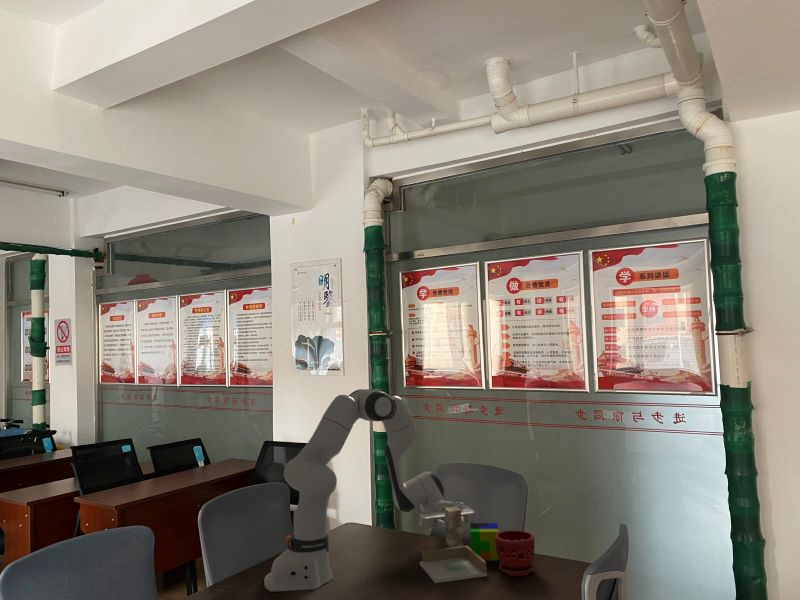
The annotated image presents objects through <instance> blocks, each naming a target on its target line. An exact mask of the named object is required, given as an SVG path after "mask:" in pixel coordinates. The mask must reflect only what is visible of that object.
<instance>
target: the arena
mask: <svg viewBox="0 0 800 600" xmlns="http://www.w3.org/2000/svg"><path fill="white" fill-rule="evenodd" d="M421 553H422V555H421V558H422V561H419V566H420V567H421V568H422V569H423V571H424V572H425V573H426V574H427V575H428V576H429V578H430V579H431V580H432V582H433V583H434V584H440V583H446V582H454V581H461V580H467V579H469V580H470V579H476V578H483V577H487V576H488V575H487V574H488V573H487V572H488V570H487V562H486V560H483V559H482V558H481V557H480V556H479V555H478V554H476V553H475V552H474V551H473V550H472V549H471V546H470V547H469V545H463V546H458V547H451V548H450V547H444V548H438V549H437V548H436V549H430V550H422V552H421Z"/></svg>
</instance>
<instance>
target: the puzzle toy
mask: <svg viewBox="0 0 800 600" xmlns="http://www.w3.org/2000/svg"><path fill="white" fill-rule="evenodd" d="M469 529H470V530H469V532H470V533H469V535H470V537H469V538H470V548H471V549H472V550H473V551H474V552H475V553H476V554H478V555H479V556H480V557H481V558H482V559H483V560H484V561H498V559H499V558H498V555H497V551H496V544H495V535H496V534H497V533H499V532H500V530H499V527H498V523H497V522H494V523H493V522H490V523H489V522H487V523H486V522H485V523H484V522H483V523H481V522H474V523H469Z"/></svg>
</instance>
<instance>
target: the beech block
mask: <svg viewBox="0 0 800 600" xmlns="http://www.w3.org/2000/svg"><path fill="white" fill-rule="evenodd" d="M445 521H447V522H448V528H444V531H445V533H444V534H445V544H446V545H447V546H448V548H453V547H461V546H464V544H463V526H462V514H461V510H460V509H459V508H458V507H450V508H445Z"/></svg>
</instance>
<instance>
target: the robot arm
mask: <svg viewBox="0 0 800 600" xmlns="http://www.w3.org/2000/svg"><path fill="white" fill-rule="evenodd" d="M321 417H322V418H321V419H320V421H319V422H318V425H317V426H316V428H315V430H314V432H313V433H312V436H311V437H310V439H309V440H308V441H307V443H306V444H305V446H304V447H303V448H302V449H301V450H300V451H299V453H297V455H296V456H295V457H294V458H292V459H291V460H289V461H288V462H287V463H286V465H285V466H284V470H283V477H284V480H285V481H286V483H287V484H288V485H289V487H291V488H292V489H294V490H295V491H298V493H299V499H298V503H297V507H296V508H295V509H294V512H293V536H291V535H289V534H288V535H286V537H285V542H286V543H287V549H285V550H284V551H283V552H282V553H280V554H279V556H277V557H276V558H275V559H274V560H273V561H272V564H271V565H272V566H271V569H270V572H269V573H268V574H267V575H266V576H265V577H264V579H263V580H264V581H263V582H264V583H263V585H264V588H265V589H266V590H267V591H269V592H273V593H275V592H290V591H307V590H308V591H309V590H317V589H319V588H320V587H321V586H323V585H324V584H328V583H329V582H330V581H332V579H333V577H334V576H333V573H332V569H331V565H330V558H329V551H330V550H329V549H330V538H329V534H328V524H327V523H328V519H327V518H328V515H327V514H328V506H329V501H330V497H331V495H332V493H334V491H335V489H336V488H337V487H336V486H337V483H338V480H337V476H336V475H337V474H336V473H335V472H334V471H333V470H332V469H331V468H330V467H329V466H328V465H327V464H329V463H330V461H332V459H333V458H334V457H336V456H337V455H339V454H340V453H341V451H342V450H343V447H344V445H345V443H346V440H347V439H348V437H349V435H350V434H351V432H352V429H353V427H354V424H355V423H356V422H357V421H358V420H360V419H362V420H363V421H368V422H382V425H383V426H384V430H385V432H386V436H387V441H386V445H385V446H384V449H383V450H384V451H383V452H384V458H385V463H386V468H387V472H388V477H389V481H390V482H389V483H390V487H391V492H392V500H393V503H394V504H395V507H396V508H397V509H398V511H401V512H404V513H410V512H411V511H413V510H414V509H416V508H417V507H418V506H419V508H420V510H421V512H420V513H419V514H418V515H416V516H415V519H416V521H418V523H419V526H420V527H421V528H422V529H432V528H433V529H434V528H443V529H445V528H448V522H447V521H445V508H450V507H458V508H459V509H460V510H461V514H462V527H463V526H465V524H470V523H476V519H477V518H476V511H475V510H474V509H472V508H471V507H469V506H467V505H465V503H464V502H462V501H461V502H460V501H449V500H445V499H444V496H445V490H444V487H443V484H442V482H441V480H440V478H439V477H438V476H437V475H436V474H435V473H433V472H431V471H429V470H425V471H423V472H422V473H420V474H418V475H416V476H414V477H413V478H411V479H409V480H407V481H405V482H403V479H402V474H401V470H400V462H401V459H402V458H403V456H404V455H405V454H406V453H407V452H408V450H409V449H411V447H412V446H413V445H414V443H415V442H416V439H417V437H418V430H417V425H416V422H415V420H414V418H413V415H412V413H411V411H410V410H409V407H408V406H407V404H406V402H405V400H403V399H402V397H400V396H397V395H391V396H390V395H389V394H388V393H386V392H384V391H381V390H375V389H370V388H369V389H368V388H367V389H363V388H362V389H357V390H353V392H351V393H350V394H348V395H347V394H339V395H337V396H336V397H335V398H334V399H332V401H331V403H330V404H329V406H328V407H327V408H326V410H325V411H324V414H323V415H322V416H321Z"/></svg>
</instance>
